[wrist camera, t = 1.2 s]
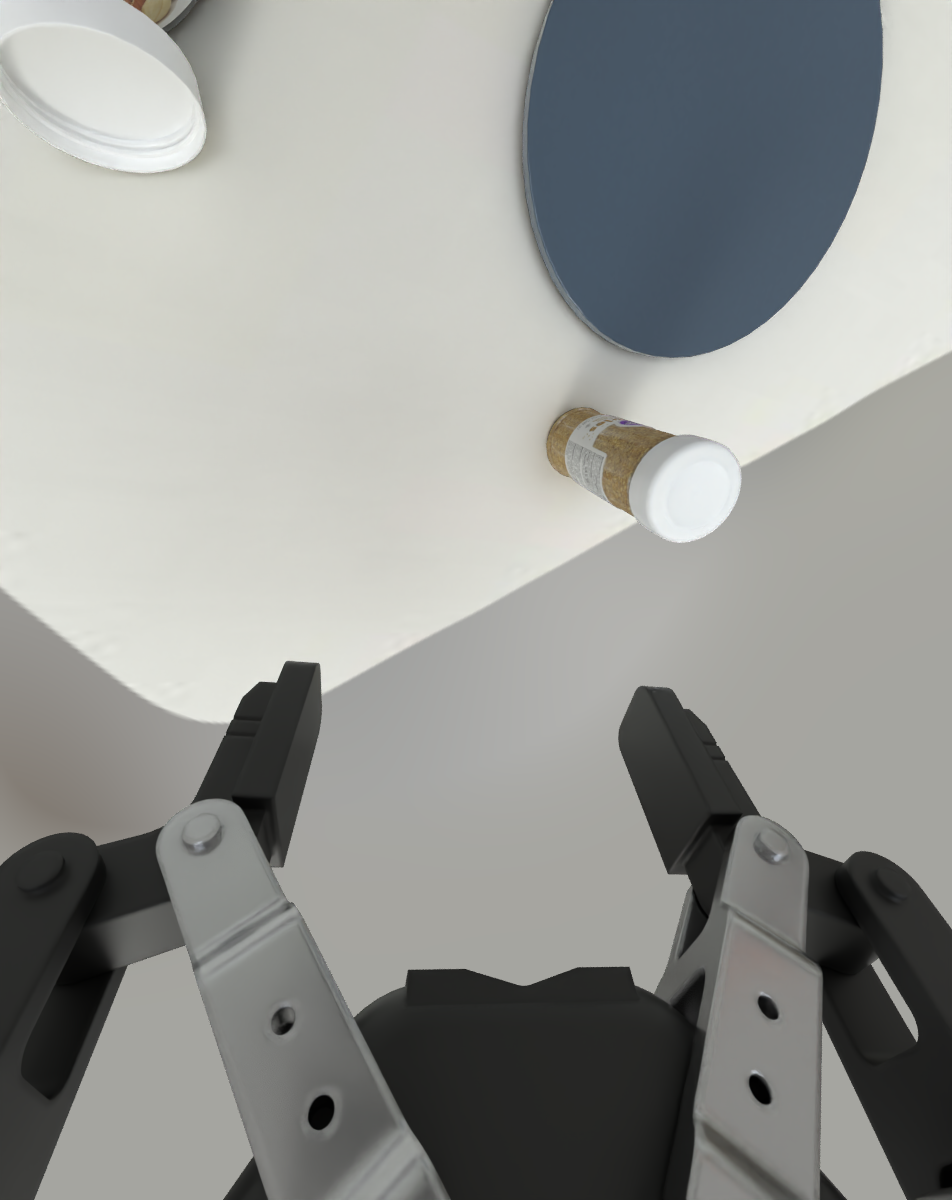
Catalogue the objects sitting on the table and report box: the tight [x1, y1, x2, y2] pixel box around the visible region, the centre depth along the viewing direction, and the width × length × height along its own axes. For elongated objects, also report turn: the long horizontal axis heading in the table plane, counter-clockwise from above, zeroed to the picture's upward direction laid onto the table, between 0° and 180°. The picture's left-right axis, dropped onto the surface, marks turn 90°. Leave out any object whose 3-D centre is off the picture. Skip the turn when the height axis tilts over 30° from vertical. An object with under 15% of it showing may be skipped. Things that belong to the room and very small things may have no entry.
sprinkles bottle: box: [546, 407, 741, 543], centre depth 27 cm, size 5×5×14 cm
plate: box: [523, 0, 883, 358], centre depth 26 cm, size 20×20×2 cm
